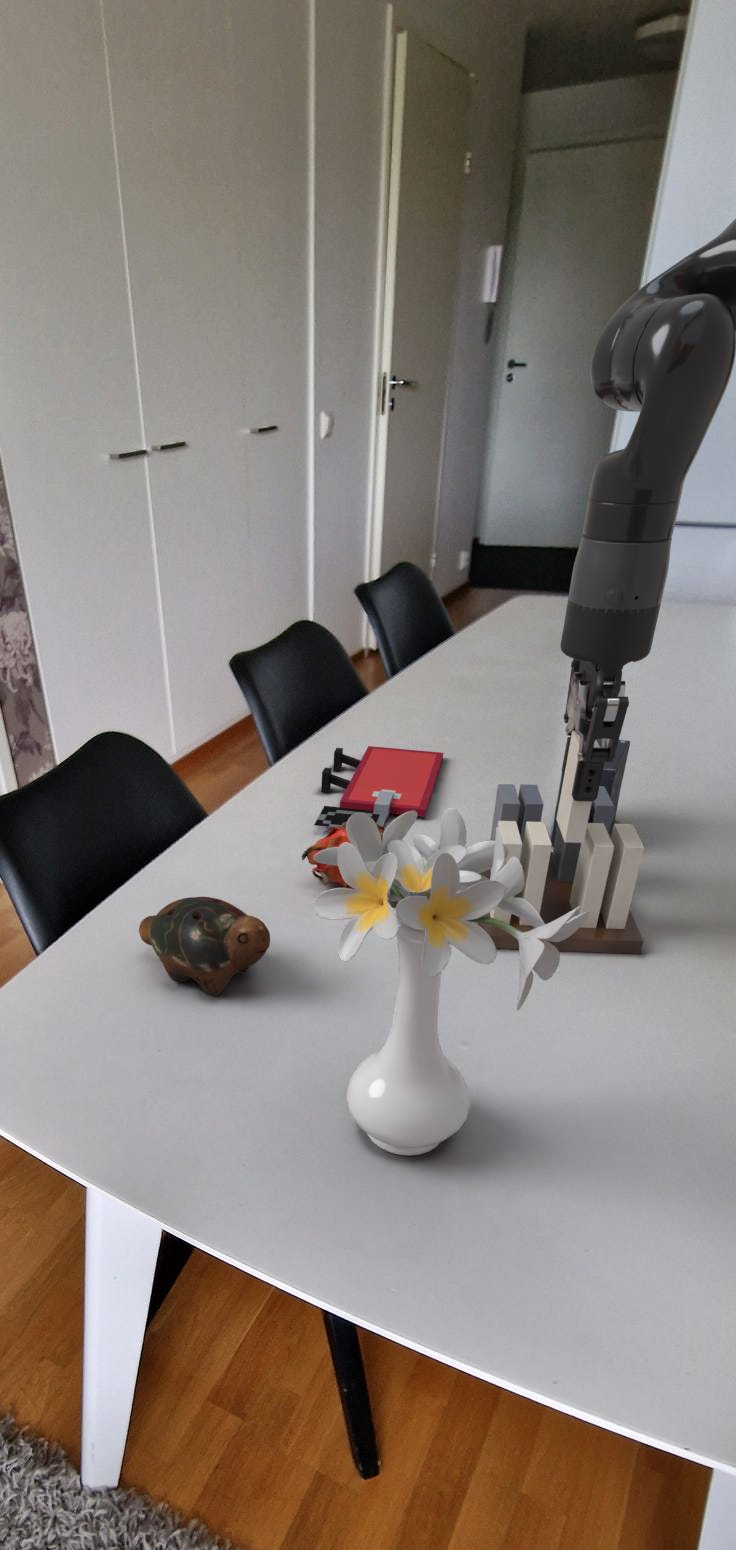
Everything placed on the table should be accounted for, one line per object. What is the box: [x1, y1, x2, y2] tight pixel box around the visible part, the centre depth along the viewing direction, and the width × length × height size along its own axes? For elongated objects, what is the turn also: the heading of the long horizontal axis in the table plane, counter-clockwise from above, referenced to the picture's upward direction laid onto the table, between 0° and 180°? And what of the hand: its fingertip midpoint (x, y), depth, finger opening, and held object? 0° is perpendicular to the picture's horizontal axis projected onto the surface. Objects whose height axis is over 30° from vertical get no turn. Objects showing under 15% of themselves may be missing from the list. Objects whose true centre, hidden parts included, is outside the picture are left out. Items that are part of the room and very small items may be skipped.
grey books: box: [489, 783, 614, 882], centre depth 101 cm, size 11×6×9 cm, turn 83°
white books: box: [490, 821, 645, 929], centre depth 93 cm, size 13×6×9 cm, turn 83°
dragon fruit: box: [301, 822, 399, 889], centre depth 103 cm, size 8×8×12 cm
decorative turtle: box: [138, 896, 271, 997], centre depth 89 cm, size 10×15×8 cm, turn 61°
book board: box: [473, 851, 645, 955], centre depth 100 cm, size 16×20×2 cm
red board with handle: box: [313, 745, 444, 828], centre depth 126 cm, size 30×3×15 cm
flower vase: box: [312, 807, 590, 1157], centre depth 65 cm, size 13×18×25 cm
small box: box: [550, 739, 631, 846], centre depth 112 cm, size 11×6×10 cm, turn 154°
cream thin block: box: [556, 731, 600, 843], centre depth 88 cm, size 2×6×9 cm, turn 173°
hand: (578, 786), depth 88 cm, fingers closed on cream thin block, 5 cm apart
